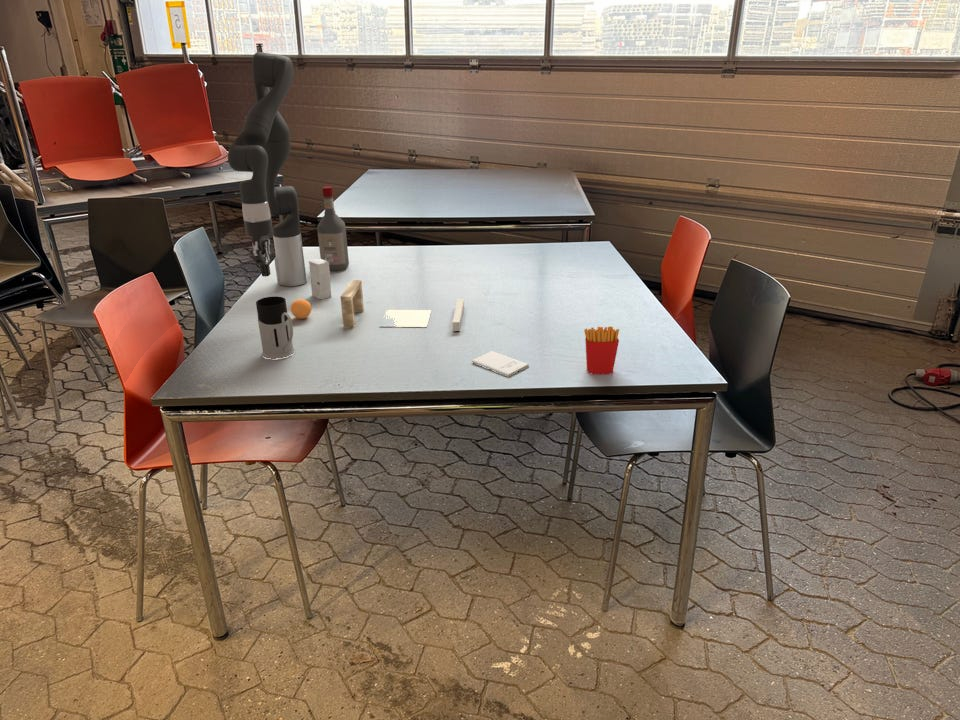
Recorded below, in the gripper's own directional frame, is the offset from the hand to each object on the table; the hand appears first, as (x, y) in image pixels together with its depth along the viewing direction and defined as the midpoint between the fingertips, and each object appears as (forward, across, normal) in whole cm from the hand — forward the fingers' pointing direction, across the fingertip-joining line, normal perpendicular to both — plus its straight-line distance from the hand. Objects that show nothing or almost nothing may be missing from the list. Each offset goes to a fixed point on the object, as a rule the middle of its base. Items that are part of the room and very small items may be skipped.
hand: (266, 275), depth 198 cm
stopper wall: (+14, 0, +57) cm, 59 cm away
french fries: (+15, +36, +95) cm, 102 cm away
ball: (+10, 0, +9) cm, 14 cm away
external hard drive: (+15, +32, +70) cm, 78 cm away
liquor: (+13, -51, +8) cm, 53 cm away
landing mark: (+14, 0, +41) cm, 43 cm away
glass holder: (+14, +28, +12) cm, 33 cm away
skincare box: (+14, -20, +10) cm, 26 cm away
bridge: (+14, 0, +25) cm, 29 cm away
